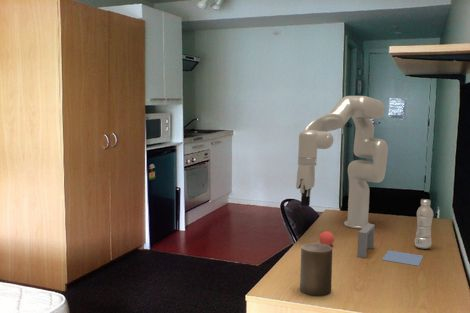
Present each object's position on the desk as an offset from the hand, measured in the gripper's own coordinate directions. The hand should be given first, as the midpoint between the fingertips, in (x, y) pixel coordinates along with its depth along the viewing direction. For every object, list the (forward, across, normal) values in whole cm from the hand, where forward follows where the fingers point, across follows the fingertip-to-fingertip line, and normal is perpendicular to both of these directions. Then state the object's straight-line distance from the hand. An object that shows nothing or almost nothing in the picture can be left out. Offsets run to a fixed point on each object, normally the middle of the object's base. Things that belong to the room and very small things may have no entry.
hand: (305, 205), depth 197 cm
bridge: (+16, 0, +26) cm, 30 cm away
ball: (+13, 0, +10) cm, 16 cm away
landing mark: (+16, 0, +40) cm, 43 cm away
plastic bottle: (+16, -18, +45) cm, 51 cm away
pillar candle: (+17, +46, +21) cm, 54 cm away
